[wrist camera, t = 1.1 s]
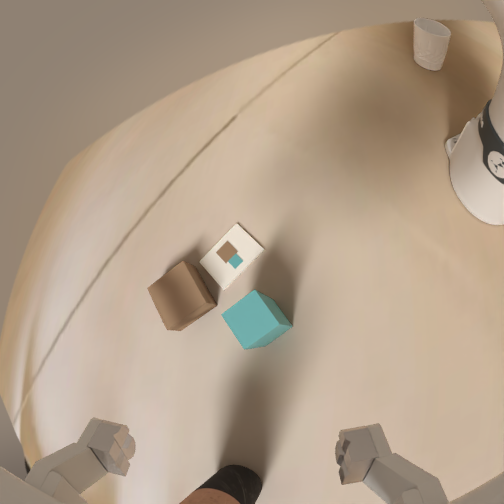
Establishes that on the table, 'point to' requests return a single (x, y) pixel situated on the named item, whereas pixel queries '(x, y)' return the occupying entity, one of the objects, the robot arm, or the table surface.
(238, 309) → the teal brick
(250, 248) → the page
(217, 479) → the travel mug
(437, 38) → the white cup
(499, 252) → the table surface
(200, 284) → the walnut brick
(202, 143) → the table surface
